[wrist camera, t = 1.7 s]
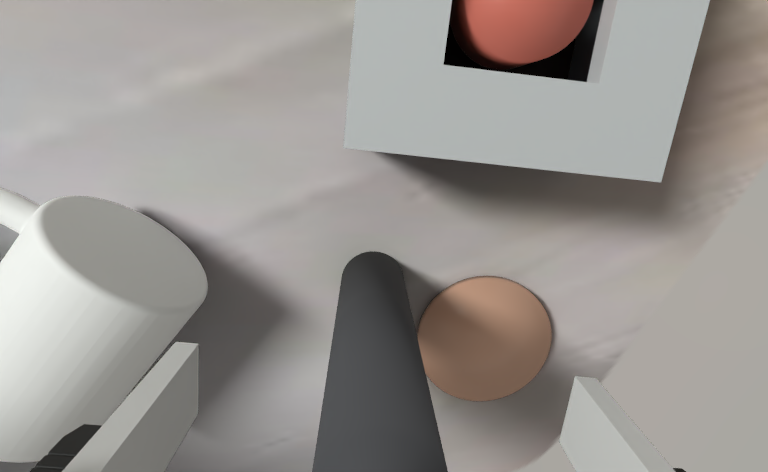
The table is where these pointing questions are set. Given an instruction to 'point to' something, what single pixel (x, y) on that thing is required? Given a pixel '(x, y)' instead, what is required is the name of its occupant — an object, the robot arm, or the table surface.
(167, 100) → the table surface
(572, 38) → the button
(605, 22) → the square hole box
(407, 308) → the rod
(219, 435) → the table surface
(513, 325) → the coaster
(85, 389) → the mug
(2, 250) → the table surface
